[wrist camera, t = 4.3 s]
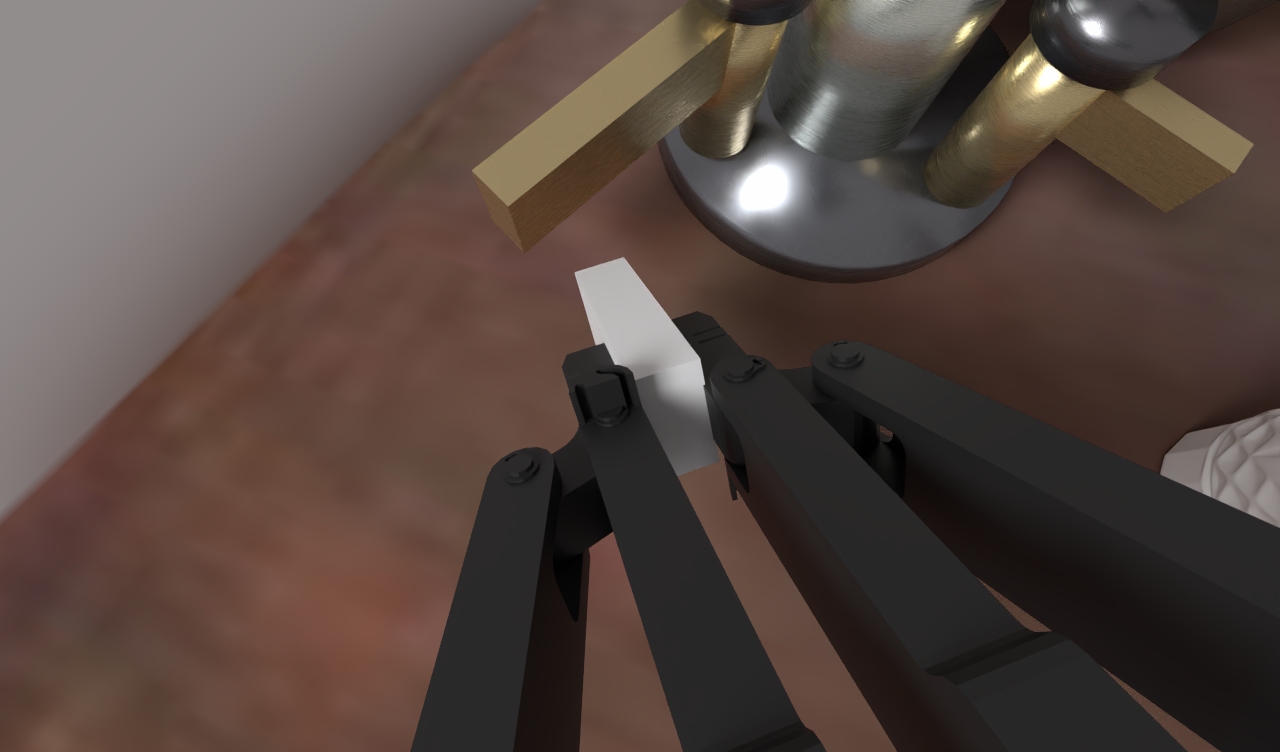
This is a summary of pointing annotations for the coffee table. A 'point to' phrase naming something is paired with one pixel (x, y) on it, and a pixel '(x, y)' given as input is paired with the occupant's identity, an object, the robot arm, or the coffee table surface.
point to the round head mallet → (639, 111)
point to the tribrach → (946, 127)
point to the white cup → (1233, 464)
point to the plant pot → (1236, 11)
